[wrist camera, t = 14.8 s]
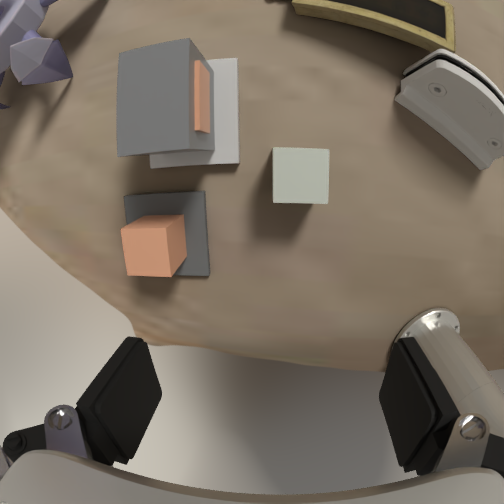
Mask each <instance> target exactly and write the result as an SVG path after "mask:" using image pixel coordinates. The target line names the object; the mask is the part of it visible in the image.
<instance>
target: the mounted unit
mask: <svg viewBox="0 0 504 504" xmlns="http://www.w3.org/2000/svg"><path fill="white" fill-rule="evenodd" d="M117 155H118V157H124V156H138V155H150V169H153V168H163V167H175V166H189V165H206V164H229V163H240V140H239V82H238V59H237V58H226V59H214V60H205V58H204V57H203V55H202V54H201V53H200V51H199V50H198V49H197V47H196V46H195V45H194V43H193V42H192V40H191V39H190V38H186V39H180V40H174V41H169V42H164V43H159V44H154V45H150V46H145V47H141V48H137V49H133V50H129V51H126V52H122V53H119V63H118V79H117Z"/></svg>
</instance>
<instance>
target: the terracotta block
mask: <svg viewBox="0 0 504 504" xmlns="http://www.w3.org/2000/svg"><path fill="white" fill-rule="evenodd" d="M121 236H122V243H123V250H124V256H125V262H126V268H127V274H128V275H132V276H157V277H172V275H173V274H174V273H175V271H176V270H177V269H178V267H179V266H180V265H181V263H182V262H183V261H184V259H185V258H186V257H187V250H186V238H185V226H184V214H183V215H149V216H143V217H141V218H139V219H137V220H136V221H134V222H132V223H130V224H128V225H127V226H125V227H123V228H121Z"/></svg>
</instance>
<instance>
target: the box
mask: <svg viewBox="0 0 504 504" xmlns="http://www.w3.org/2000/svg"><path fill="white" fill-rule="evenodd" d="M292 5H293V6H294V8H295V12H296V14H298V15H305V16H312V17H317V18H323V19H328V20H334V21H339V22H343V23H347V24H351V25H355V26H359V27H363V28H366V29H370V30H373V31H377V32H380V33H383V34H386V35H389V36H392V37H395V38H398V39H400V40H403V41H406V42H408V43H411V44H414V45H416V46H419V47H421V48H424V49H426V50H428V51H431V52H434V51H436V50H437V49H445V50H447V51H449V52H451V53H455V51H456V37H455V17H454V8H453V6H452V5H451V4H449V3H447V2H445V1H443V0H292Z"/></svg>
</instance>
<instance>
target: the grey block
mask: <svg viewBox="0 0 504 504" xmlns="http://www.w3.org/2000/svg"><path fill="white" fill-rule="evenodd" d="M328 187H329V149H314V148H280V147H273V148H272V195H273V203H315V204H328Z"/></svg>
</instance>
